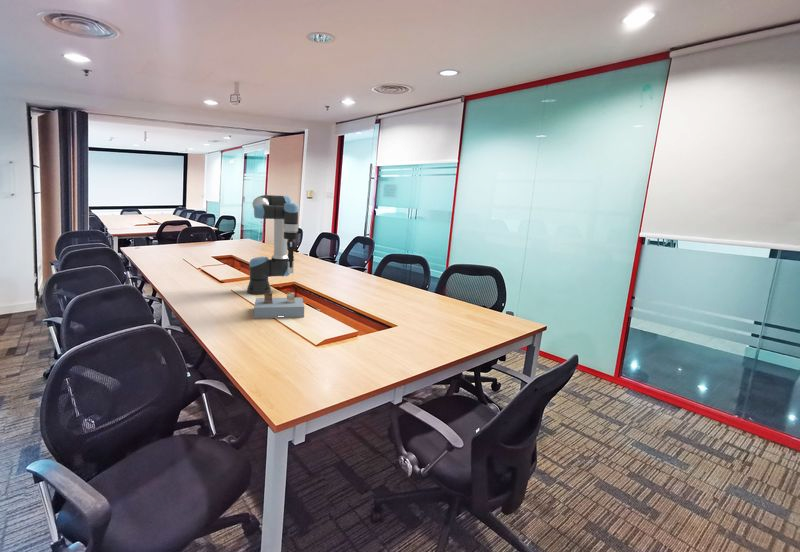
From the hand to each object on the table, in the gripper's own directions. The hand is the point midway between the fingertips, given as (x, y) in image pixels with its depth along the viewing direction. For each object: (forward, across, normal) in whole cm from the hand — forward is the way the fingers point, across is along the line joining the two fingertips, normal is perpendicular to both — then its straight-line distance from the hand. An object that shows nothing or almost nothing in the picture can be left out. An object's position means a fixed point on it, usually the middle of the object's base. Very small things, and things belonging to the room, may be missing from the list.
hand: (290, 271), depth 222 cm
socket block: (+24, 0, -6) cm, 25 cm away
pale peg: (+19, 0, 0) cm, 19 cm away
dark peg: (+19, 0, -12) cm, 22 cm away
